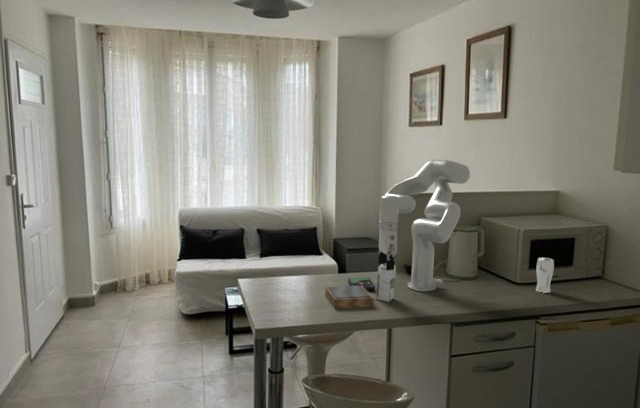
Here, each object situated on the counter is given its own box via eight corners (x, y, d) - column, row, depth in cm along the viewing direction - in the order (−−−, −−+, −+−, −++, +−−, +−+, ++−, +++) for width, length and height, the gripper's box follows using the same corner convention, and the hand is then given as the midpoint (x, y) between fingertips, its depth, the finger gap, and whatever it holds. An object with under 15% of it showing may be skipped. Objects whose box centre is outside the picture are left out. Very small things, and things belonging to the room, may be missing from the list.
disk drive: (375, 293, 206) (369, 282, 221) (375, 287, 206) (369, 277, 221) (352, 293, 205) (347, 282, 220) (352, 287, 205) (347, 277, 220)
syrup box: (381, 296, 201) (383, 262, 199) (394, 298, 198) (396, 265, 196) (376, 299, 196) (377, 265, 194) (389, 302, 193) (390, 267, 191)
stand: (361, 293, 203) (361, 284, 202) (373, 306, 187) (373, 296, 187) (325, 295, 199) (325, 286, 199) (334, 308, 184) (334, 298, 183)
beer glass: (536, 293, 210) (539, 260, 208) (533, 288, 217) (535, 256, 215) (553, 294, 208) (556, 261, 207) (549, 290, 215) (552, 257, 213)
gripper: (405, 229, 185) (402, 272, 187) (389, 222, 202) (387, 261, 204) (387, 229, 183) (384, 272, 185) (372, 222, 200) (370, 261, 202)
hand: (385, 266), depth 195 cm, fingers open, 9 cm apart
